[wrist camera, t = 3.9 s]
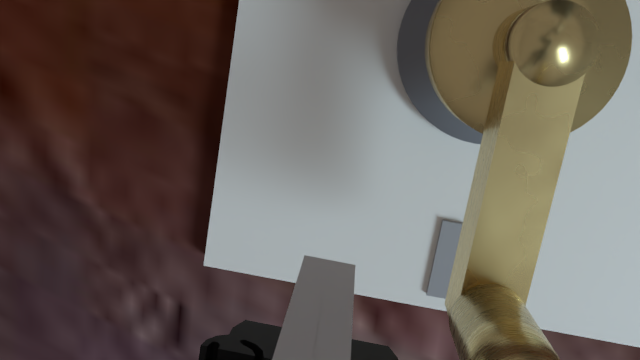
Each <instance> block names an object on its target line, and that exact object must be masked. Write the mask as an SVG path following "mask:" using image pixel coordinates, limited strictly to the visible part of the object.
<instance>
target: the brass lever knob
mask: <svg viewBox="0 0 640 360" xmlns="http://www.w3.org/2000/svg"><path fill="white" fill-rule="evenodd" d="M631 47H632V24H631V18H630V13H629V9H628V6H627V3H626V0H439V1H438V3H437V5H436V7H435V9H434V11H433V13H432V16H431V18H430V21H429V24H428V28H427V32H426V39H425V61H426V68H427V72H428V76H429V79H430V82H431V84H432V86H433V89H434V91H435V92H436V94H437V96H438V98H439V99H440V101H441V102H442V103H443V104H444V106H445V107H446V108H447V109H448V110H449V111H450V112H451V113H452V114H453V115H454V116H455V117H457V118H458V119H459V120H461V121H462V122H463V123H465V124H466V125H468V126H470V127H471V128H473V129H474V130H476V131H478V132H480V133H482V134H483V136H482V140H481V145H480V149H479V154H478V158H477V162H476V167H475V171H474V176H473V180H472V184H471V189H470V193H469V198H468V202H467V207H466V211H465V215H464V220H463V224H462V229H461V233H460V237H459V242H458V246H457V251H456V255H455V260H454V264H453V268H452V273H451V277H450V282H449V286H448V290H447V295H446V299H445V307H446V310H447V313H448V316H449V327H450V331H451V334H452V337H453V340H454V343H455V347H456V350H457V353H458V356H459V359H460V360H560V359H559V357H558V355H557V354H556V352H555V351H554V349H553V348H552V346H551V345H550V343H549V342H548V340H547V339H546V337H545V335H544V334H543V332H542V331H541V329H540V328H539V326H538V325H537V323H536V322H535V320H534V318H533V317H532V315H531V314H530V312H529V311H528V309H527V308H526V302H527V298H528V294H529V290H530V286H531V282H532V278H533V274H534V271H535V267H536V263H537V259H538V255H539V251H540V247H541V243H542V239H543V236H544V232H545V228H546V224H547V220H548V216H549V212H550V208H551V204H552V201H553V197H554V193H555V189H556V185H557V181H558V177H559V173H560V169H561V166H562V162H563V158H564V154H565V150H566V146H567V142H568V138H569V134H570V133H571V132H572V131H574V130H576V129H578V128H580V127H581V126H583V125H584V124H586V123H587V122H588V121H590V120H591V119H592V118H593V117H595V116H596V115H597V114H598V113H599V112H600V111H601V110H602V109H603V108H604V107H605V105H606V104H607V103H608V102H609V101H610V99H611V98H612V97H613V95H614V93H615V92H616V90H617V89H618V87H619V85H620V83H621V81H622V79H623V77H624V75H625V72H626V69H627V66H628V63H629V58H630V53H631Z"/></svg>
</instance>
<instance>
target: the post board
mask: <svg viewBox="0 0 640 360" xmlns="http://www.w3.org/2000/svg"><path fill="white" fill-rule="evenodd" d="M438 1H439V0H239V5H238V12H237V20H236V27H235V35H234V42H233V50H232V57H231V65H230V72H229V79H228V87H227V94H226V102H225V109H224V117H223V124H222V132H221V139H220V146H219V154H218V161H217V169H216V176H215V184H214V191H213V199H212V206H211V213H210V221H209V228H208V236H207V243H206V251H205V258H204V266H209V267H214V268H219V269H225V270H230V271H235V272H241V273H246V274H251V275H257V276H262V277H267V278H273V279H278V280H283V281H288V282H294V283H296V281H297V278H298V275H299V272H300V268H301V265H302V262H303V259H304V256H305V255H306V256H312V257H317V258H322V259H327V260H333V261H338V262H343V263H348V264H353V265H355V282H354V294H358V295H363V296H368V297H374V298H379V299H384V300H390V301H395V302H400V303H406V304H411V305H416V306H422V307H427V308H432V309H438V310H443V311H447V310H446V307H445V299H446V295H447V290H448V286H449V282H450V277H451V273H452V268H453V264H454V260H455V255H456V251H457V246H458V242H459V237H460V233H461V229H462V224H463V220H464V215H465V211H466V207H467V202H468V198H469V193H470V189H471V184H472V180H473V176H474V171H475V167H476V162H477V158H478V154H479V149H480V145H481V140H482V136H483V134H482V133H480V132H478V131H476V130H474V129H473V128H471V127H470V126H468V125H466V124H465V123H463V122H462V121H461V120H459V119H458V118H457V117H455V116H454V115H453V114H452V113H451V112H450V111H449V110H448V109H447V108H446V107H445V106H444V104H443V103H442V102H441V101H440V99H439V98H438V96H437V94H436V92H435V91H434V89H433V86H432V84H431V82H430V79H429V76H428V72H427V68H426V61H425V39H426V32H427V28H428V24H429V21H430V18H431V16H432V13H433V11H434V9H435V7H436V5H437V3H438ZM626 3H627V6H628V9H629V13H630V18H631V24H632V47H631V53H630V58H629V63H628V66H627V69H626V72H625V75H624V77H623V79H622V81H621V83H620V85H619V87H618V89H617V90H616V92H615V93H614V95H613V97H612V98H611V99H610V101H609V102H608V103H607V104H606V105H605V107H604V108H603V109H602V110H601V111H600V112H599V113H598V114H597V115H596V116H595V117H593V118H592V119H591V120H590V121H588V122H587V123H586V124H584V125H583V126H581V127H580V128H578V129H576V130H574V131H572V132H571V133H570V134H569V138H568V142H567V146H566V150H565V154H564V158H563V162H562V166H561V169H560V173H559V177H558V181H557V185H556V189H555V193H554V197H553V201H552V204H551V208H550V212H549V216H548V220H547V224H546V228H545V232H544V236H543V239H542V243H541V247H540V251H539V255H538V259H537V263H536V267H535V271H534V274H533V278H532V282H531V286H530V290H529V294H528V298H527V302H526V308H527V309H528V311H529V312H530V314H531V315H532V317H533V318H534V320H535V322H536V323H537V325H538V326H539V328H540V329H544V330H550V331H555V332H560V333H566V334H571V335H576V336H582V337H587V338H592V339H598V340H603V341H608V342H614V343H619V344H624V345H630V346H635V347H640V0H626Z"/></svg>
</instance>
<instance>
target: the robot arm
mask: <svg viewBox="0 0 640 360" xmlns="http://www.w3.org/2000/svg"><path fill="white" fill-rule="evenodd" d="M354 282H355V265H353V264H348V263H343V262H338V261H333V260H327V259H322V258H317V257H312V256H306V255H305V256H304V259H303V262H302V265H301V268H300V272H299V275H298V278H297V281H296V284H295V288H294V291H293V294H292V297H291V300H290V304H289V307H288V310H287V313H286V316H285V320H284V323H283V326H282V327H278V326H273V325H268V324H263V323H258V322H253V321H248V320H245V321H243V322H242V323H240V324H238V325H237V326H235V327H233V328H232V330H231V332H230V334H229V335H221V336H215V337H213V338H210V339H207V340H206V341H205V342H204V343H203V344H202V345H201V347H200V354H199V360H398V358H397V357H396V355H395V354H394V353H393V352H392V350H391V349H390V348H389V347H388V346H383V345H378V344H373V343H368V342H363V341H358V340H353V339H352V322H353V302H354Z"/></svg>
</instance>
